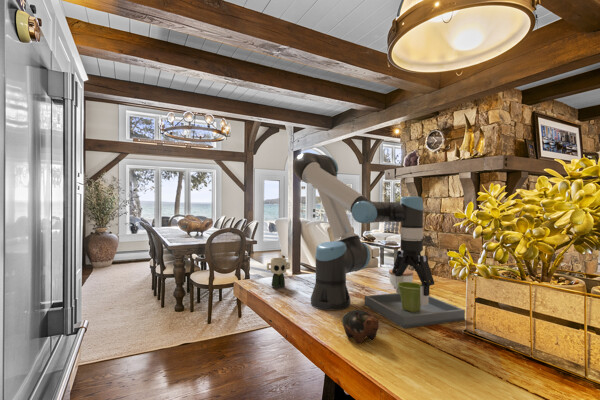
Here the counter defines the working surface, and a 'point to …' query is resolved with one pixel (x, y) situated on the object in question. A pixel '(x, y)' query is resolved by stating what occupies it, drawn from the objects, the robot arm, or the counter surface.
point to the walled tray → (426, 316)
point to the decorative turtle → (360, 325)
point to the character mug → (278, 271)
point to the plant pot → (410, 296)
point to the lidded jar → (407, 276)
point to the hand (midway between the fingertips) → (411, 299)
